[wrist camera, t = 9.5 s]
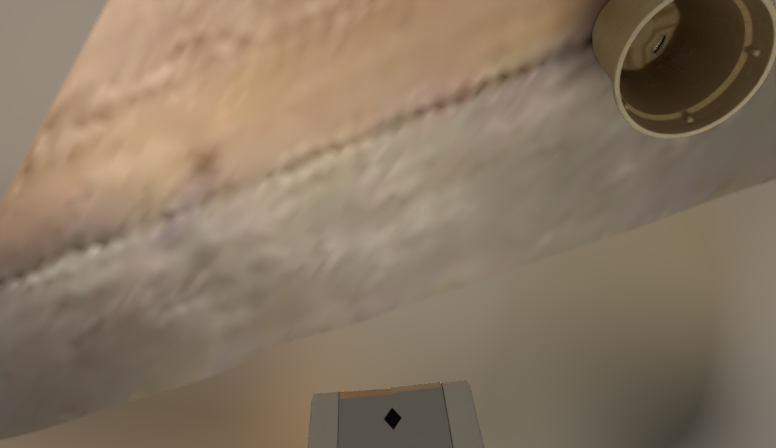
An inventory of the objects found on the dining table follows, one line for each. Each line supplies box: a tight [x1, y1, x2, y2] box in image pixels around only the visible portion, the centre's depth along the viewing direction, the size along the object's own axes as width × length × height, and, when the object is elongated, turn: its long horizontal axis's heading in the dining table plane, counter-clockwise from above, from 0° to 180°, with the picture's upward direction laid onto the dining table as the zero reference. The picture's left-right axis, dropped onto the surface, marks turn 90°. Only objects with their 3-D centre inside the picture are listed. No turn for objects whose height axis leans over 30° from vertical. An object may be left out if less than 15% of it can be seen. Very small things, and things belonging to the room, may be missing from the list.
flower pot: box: [592, 0, 776, 138], centre depth 34 cm, size 9×9×9 cm
